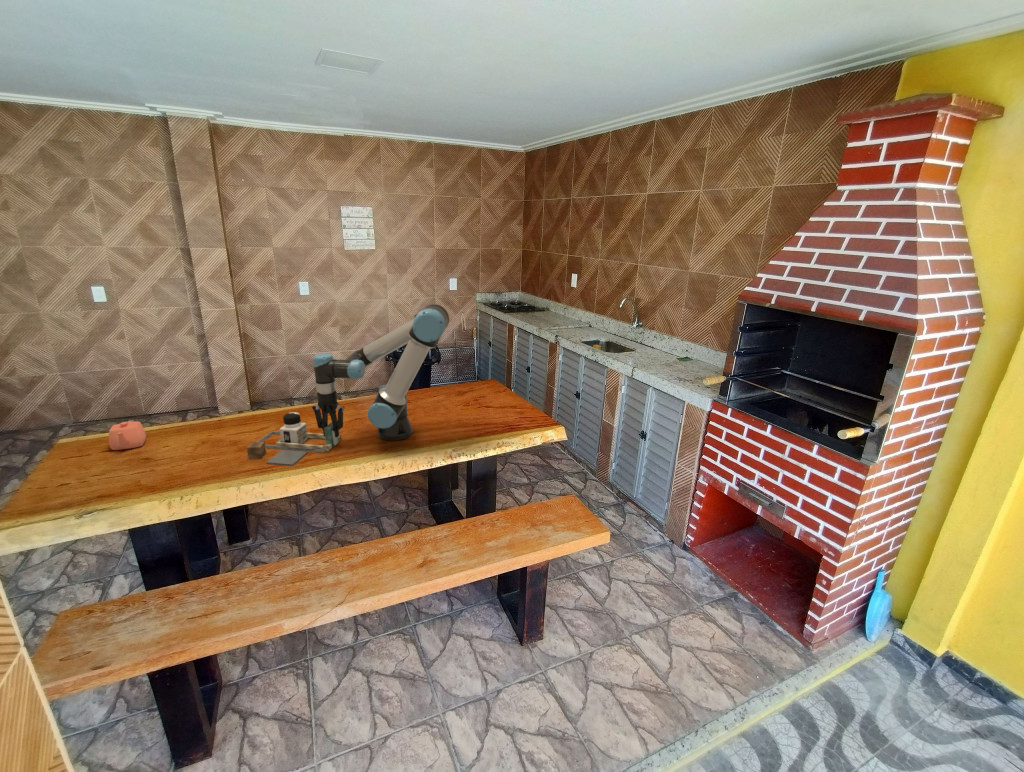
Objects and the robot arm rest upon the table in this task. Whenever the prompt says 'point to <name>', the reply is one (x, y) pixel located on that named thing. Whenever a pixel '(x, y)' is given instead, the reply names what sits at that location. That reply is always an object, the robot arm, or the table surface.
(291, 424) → the container
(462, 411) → the table surface
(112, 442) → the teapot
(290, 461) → the coaster
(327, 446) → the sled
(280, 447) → the lanes
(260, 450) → the walnut cube
